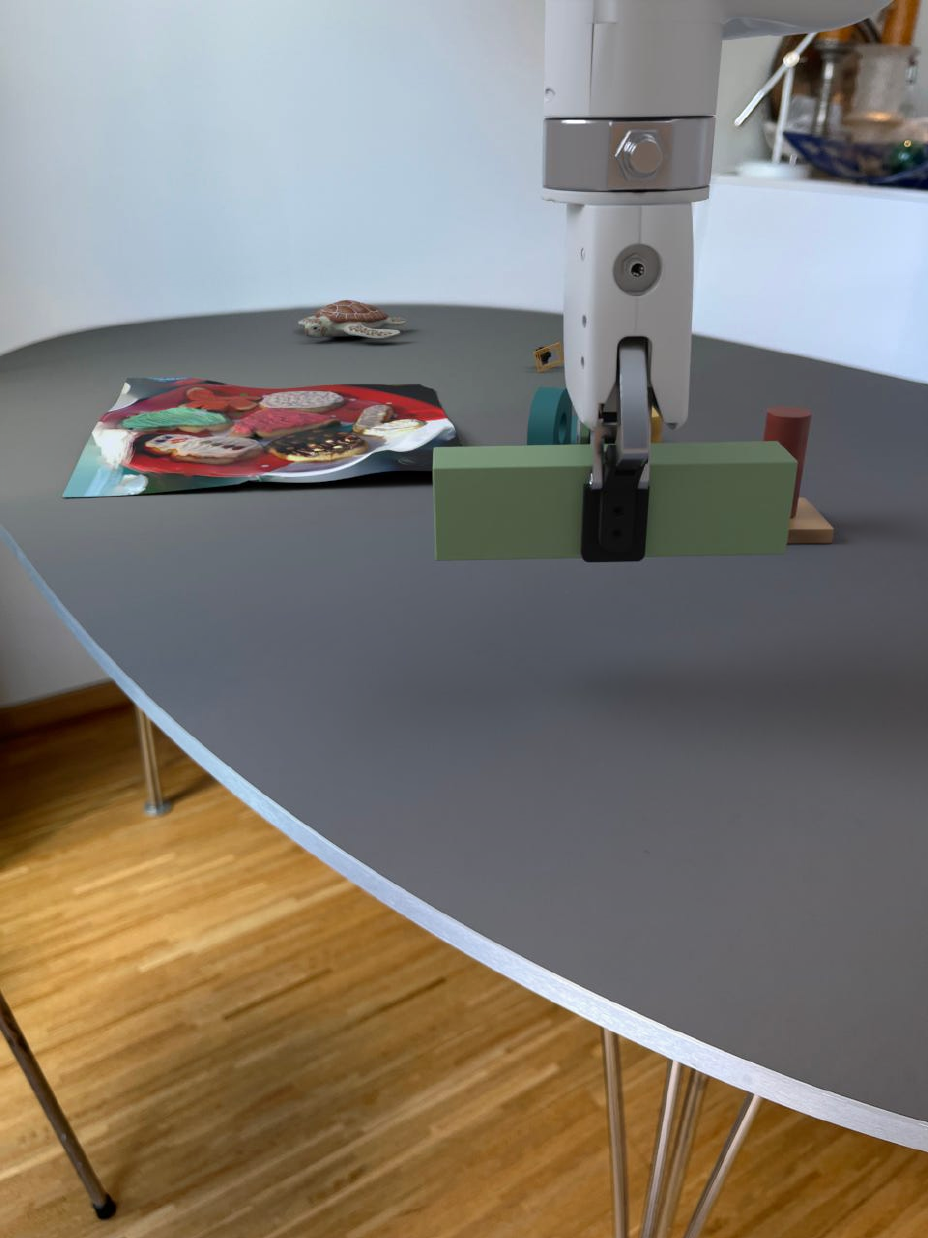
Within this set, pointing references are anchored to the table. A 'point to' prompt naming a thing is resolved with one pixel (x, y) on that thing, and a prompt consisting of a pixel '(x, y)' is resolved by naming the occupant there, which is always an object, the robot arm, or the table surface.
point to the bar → (554, 476)
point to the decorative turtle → (350, 321)
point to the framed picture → (547, 356)
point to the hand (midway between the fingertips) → (606, 540)
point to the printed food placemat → (256, 435)
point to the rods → (793, 436)
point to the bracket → (552, 418)
